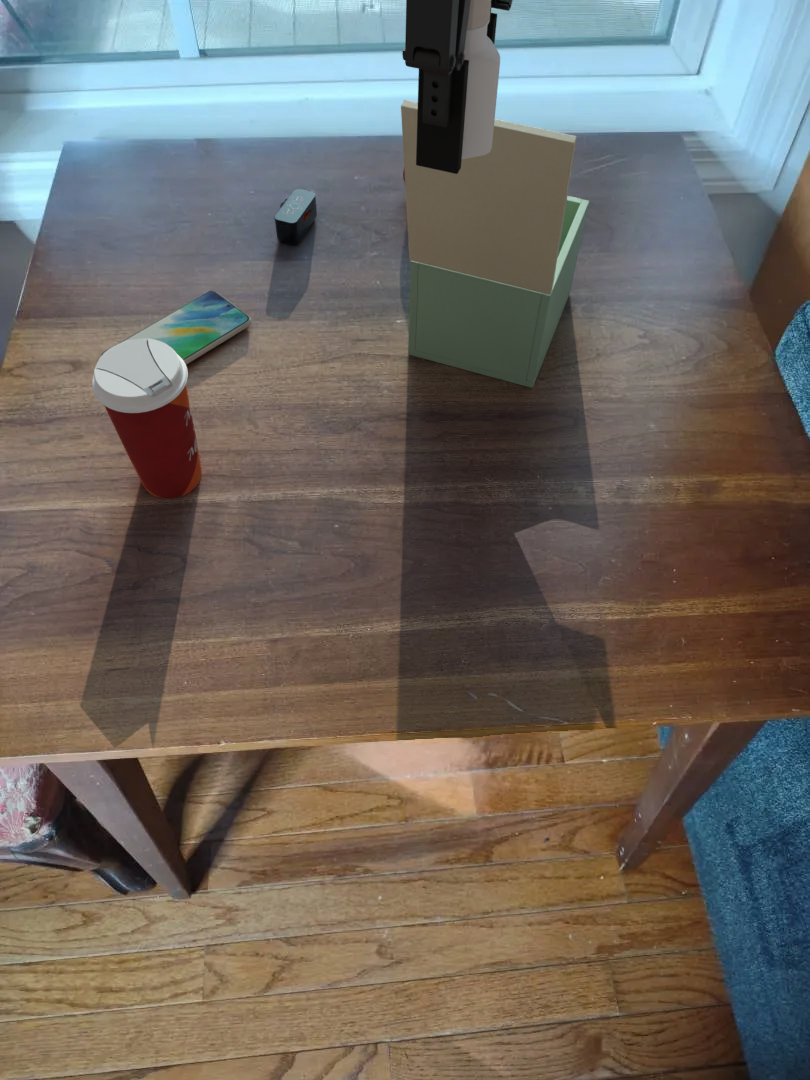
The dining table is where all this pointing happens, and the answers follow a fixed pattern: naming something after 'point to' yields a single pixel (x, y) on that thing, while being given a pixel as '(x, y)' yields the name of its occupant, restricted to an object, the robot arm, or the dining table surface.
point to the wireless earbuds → (295, 216)
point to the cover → (491, 205)
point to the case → (492, 313)
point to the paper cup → (151, 413)
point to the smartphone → (196, 326)
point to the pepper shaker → (480, 82)
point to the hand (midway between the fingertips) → (452, 140)
